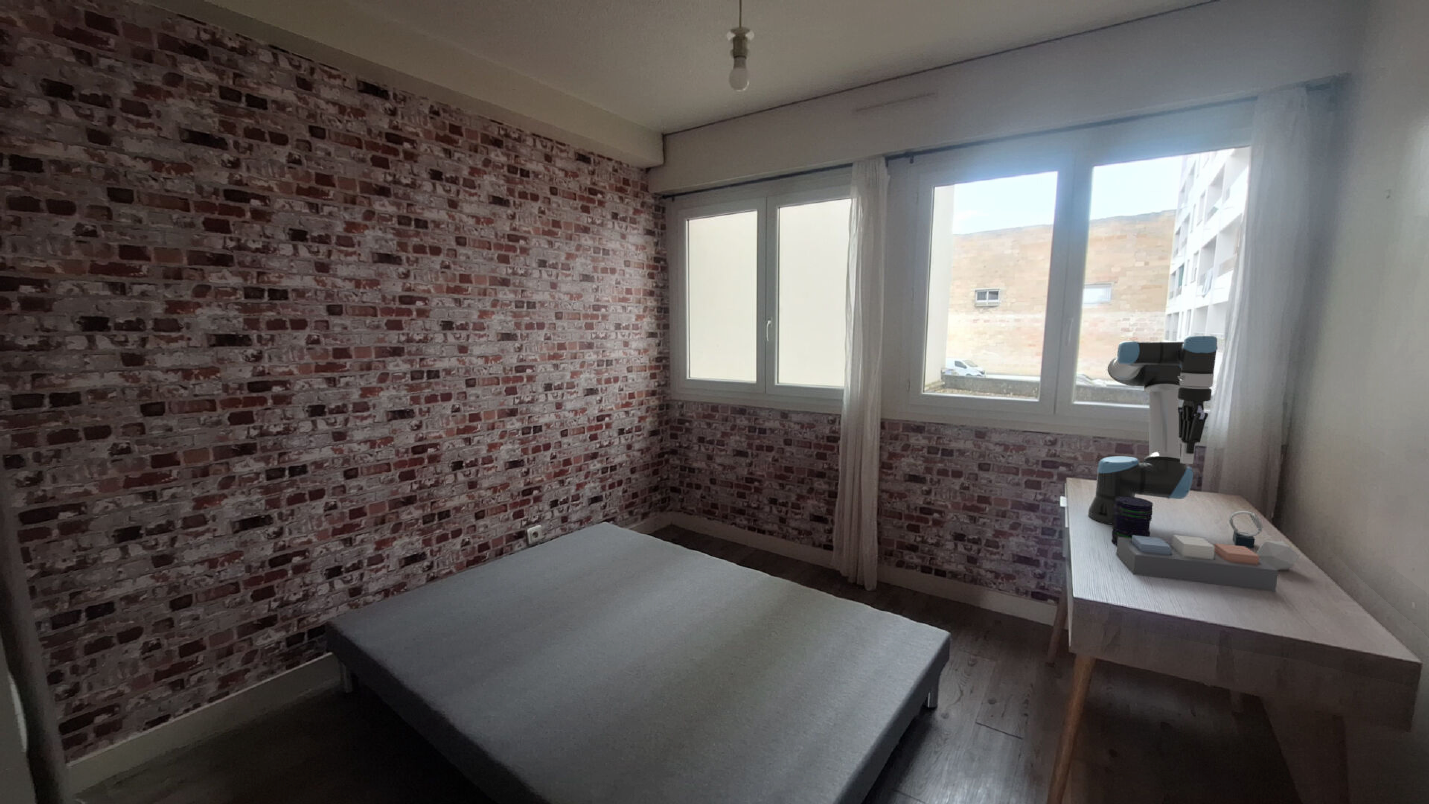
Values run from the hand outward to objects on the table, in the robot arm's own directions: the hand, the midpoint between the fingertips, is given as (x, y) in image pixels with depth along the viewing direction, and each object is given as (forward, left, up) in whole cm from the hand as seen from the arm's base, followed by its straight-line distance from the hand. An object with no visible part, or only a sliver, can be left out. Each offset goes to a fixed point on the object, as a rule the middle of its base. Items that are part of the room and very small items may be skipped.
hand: (1186, 463), depth 166 cm
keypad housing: (+14, -2, -29) cm, 33 cm away
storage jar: (-4, -11, -30) cm, 32 cm away
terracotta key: (+14, +8, -26) cm, 31 cm away
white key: (+14, -2, -25) cm, 29 cm away
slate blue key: (+14, -12, -26) cm, 32 cm away
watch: (-16, +24, -30) cm, 41 cm away
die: (+3, +23, -30) cm, 38 cm away
